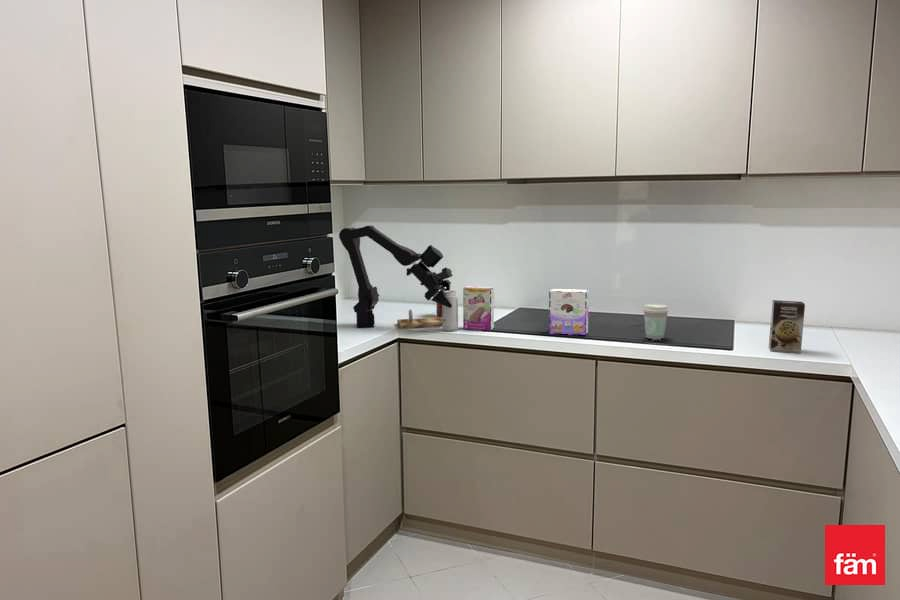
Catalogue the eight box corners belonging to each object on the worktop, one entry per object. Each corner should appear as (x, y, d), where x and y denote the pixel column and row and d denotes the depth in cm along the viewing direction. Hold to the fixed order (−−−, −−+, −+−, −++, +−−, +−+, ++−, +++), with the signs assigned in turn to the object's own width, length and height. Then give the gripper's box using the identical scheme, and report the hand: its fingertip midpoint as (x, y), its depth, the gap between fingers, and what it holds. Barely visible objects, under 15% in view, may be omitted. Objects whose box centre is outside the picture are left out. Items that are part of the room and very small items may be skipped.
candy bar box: (462, 329, 253) (462, 287, 250) (466, 327, 257) (466, 285, 255) (491, 331, 249) (491, 288, 247) (494, 328, 254) (494, 286, 251)
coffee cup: (639, 336, 239) (640, 303, 237) (663, 336, 238) (664, 303, 236) (645, 341, 230) (646, 307, 228) (670, 341, 230) (671, 307, 228)
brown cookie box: (770, 351, 215) (773, 302, 212) (768, 347, 221) (771, 299, 218) (801, 353, 211) (805, 304, 209) (798, 349, 217) (802, 300, 215)
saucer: (410, 324, 258) (410, 310, 257) (408, 322, 263) (408, 308, 262) (412, 324, 258) (412, 310, 257) (410, 322, 263) (410, 308, 263)
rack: (400, 328, 255) (400, 323, 255) (397, 324, 264) (397, 319, 264) (446, 326, 259) (446, 321, 259) (441, 322, 268) (441, 317, 268)
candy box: (588, 333, 245) (589, 289, 242) (585, 336, 239) (587, 291, 237) (551, 331, 249) (552, 287, 247) (548, 334, 244) (548, 290, 241)
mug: (432, 316, 281) (431, 292, 279) (451, 314, 284) (450, 291, 282) (442, 321, 270) (441, 296, 268) (461, 319, 273) (461, 295, 271)
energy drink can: (441, 328, 255) (441, 290, 252) (457, 328, 255) (457, 290, 253) (442, 332, 249) (442, 292, 247) (458, 331, 249) (458, 292, 247)
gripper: (432, 263, 240) (462, 294, 239) (445, 258, 258) (473, 287, 257) (412, 284, 243) (441, 315, 242) (426, 278, 261) (454, 306, 260)
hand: (453, 305), depth 250 cm, fingers open, 6 cm apart
